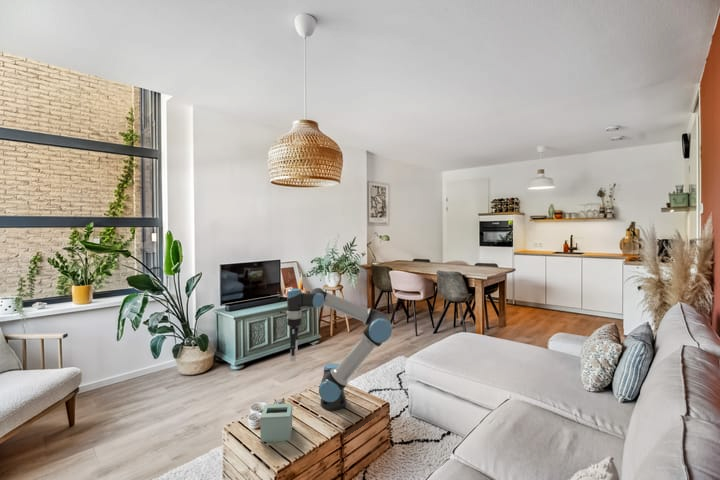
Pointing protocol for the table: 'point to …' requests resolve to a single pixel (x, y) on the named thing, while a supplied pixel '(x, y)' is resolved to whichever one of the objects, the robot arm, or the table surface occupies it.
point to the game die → (279, 401)
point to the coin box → (276, 423)
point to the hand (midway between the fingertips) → (294, 356)
